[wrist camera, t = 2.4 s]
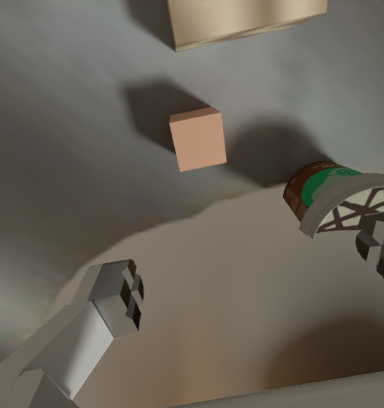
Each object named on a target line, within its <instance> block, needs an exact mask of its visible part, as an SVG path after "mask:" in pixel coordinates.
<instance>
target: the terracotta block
mask: <svg viewBox="0 0 384 408" xmlns="http://www.w3.org/2000/svg"><path fill="white" fill-rule="evenodd" d="M169 124H170V128H171V133H172V137H173V142H174V146H175V151H176V155H177V160H178V164H179V169H180V172H182V171H187V170H191V169H196V168H201V167H206V166H211V165H216V164H221V163H226V162H227V161H226V152H225V144H224V135H223V126H222V118H221V112H219V111H218V110H216V109H215V108H213V107H208V108H203V109H198V110H193V111H188V112H184V113H179V114H174V115H170V122H169Z"/></svg>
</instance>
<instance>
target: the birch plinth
mask: <svg viewBox="0 0 384 408" xmlns="http://www.w3.org/2000/svg"><path fill="white" fill-rule="evenodd" d="M166 1H167V7H168V12H169V18H170V23H171V28H172V34H173V39H174V45H175V50H176V52H178V51H183V50H187V49H192V48H197V47H201V46H206V45H210V44H215V43H220V42H224V41H229V40H233V39H238V38H243V37H247V36H252V35H256V34H261V33H266V32H270V31H275V30H280V29H284V28H289V27H293V26H298V25H300V24H302V23H305V22H307V21H309V20H311V19H313V18H315V17H317V16H320V15H322V14H324V13H326V12H327V1H328V0H166Z"/></svg>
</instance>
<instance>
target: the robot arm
mask: <svg viewBox="0 0 384 408" xmlns="http://www.w3.org/2000/svg"><path fill="white" fill-rule="evenodd" d="M358 226H359V227H360V228H361V231H360V233H358V235H357V236H356V242H355V244H356V248H357V251H358V253H359V254H360V256H361V257H362V258H363V259H364V260H365V261H366V262H368V263H371V264H373V265H376V271H377V272H378V273H379V274H380V275H381V276H382V277H383V278H384V212H378V213H373V214H368V215H363V216H362V217H361V219H360V221H359V225H358ZM136 268H137V267H136V264H135V262H134V260H132V259H128V260H123V261H116V262H111V263H105V264H99V265H93V266H90V267H89V268H88V269H87V271H86V273H85V275H84V277H83V279H82V282H81V283H80V286H79V288H78V290H77V292H76V294H75V296H74V298H73V300H72V302H71V304H70V305H66V306H65V307H64V308H62V309H61V310H60V311H59V312H58V313H57V314H56V315H55V316H54V317H52V318H51V319H50V320H49V321H48V322H47V323H45V324H44V325H43V326H42V327H41V328H40V329H39V330H38V331H36V332H35V333H34V334H33V335H32V336H31V337H30V338H29V339H27V340H26V341H25V342H24V343H23V344H22V345H21V346H20V347H18V348H17V349H16V350H15V351H14V352H13V353H12V354H11V355H9V356H8V357H7V358H6V359H5V360H4V361H3V362H2V363H0V408H79V407H78V406H77V405H76V404H75V403H74V402H73V401H72V399H73V398H74V396H75V395H76V393H77V392H78V390H79V389H80V388H81V386H82V385H83V383H84V382H85V380H86V379H87V377H88V376H89V374H90V373H91V371H92V370H93V368H94V367H95V365H96V364H97V362H98V361H99V360H100V358H101V357H102V355H103V354H104V352H105V351H106V349H107V348H108V346H109V345H110V343H111V342H112V340H113V337H116V336H121V335H125V334H130V333H135V332H138V331H139V325H140V319H141V312H140V309H139V306H140V305H141V304H142V303H143V299H144V286H143V282H142V279H141V276H140V275H138V274H136V273H135V272H136ZM165 408H384V371H383V372H377V373H372V374H366V375H359V376H353V377H347V378H341V379H335V380H329V381H323V382H316V383H310V384H304V385H298V386H293V387H286V388H280V389H274V390H268V391H262V392H256V393H250V394H244V395H238V396H232V397H225V398H220V399H213V400H207V401H201V402H195V403H190V404H183V405H177V406H171V407H165Z"/></svg>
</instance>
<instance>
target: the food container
mask: <svg viewBox="0 0 384 408" xmlns="http://www.w3.org/2000/svg"><path fill="white" fill-rule="evenodd" d="M283 198H284V199H285V201H286V203H287V204H288V205H289V207H290V208H291V210H292V211H293V212H294V214H295V215H296V217H297V218H298V220H299V221H300V223H301V224H300V228H299V229H300V230H301V231H302V232H303V233H304V234H306V235H307V236H310V237H311V238H312V239H314V237H315V234H316V233H320V232H326V231H334V230H335V231H336V230H361V228H360V227H359V226H358V225H359V221H360V219H361V217H362V216H363V215H368V214H373V213H378V212H384V174H377V173H367V174H363V173H361V172H358V171H355V170H352V169H350V168H347V167H344V166H342V165H339V164H336V163H333V162H328V161H318V162H314V163H311V164H308V165H306V166H304V167H303V168H301V169H300V170H299V171H297V172H296V173H295V174H294V175H293V176H292V178H291V179H290V180H289V182H288V183H287V185H286V187H285V190H284V194H283Z"/></svg>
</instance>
